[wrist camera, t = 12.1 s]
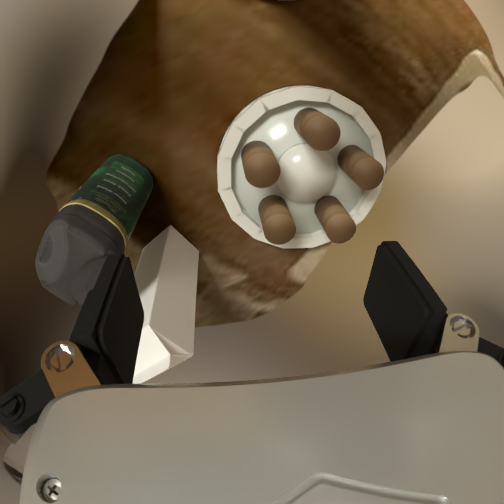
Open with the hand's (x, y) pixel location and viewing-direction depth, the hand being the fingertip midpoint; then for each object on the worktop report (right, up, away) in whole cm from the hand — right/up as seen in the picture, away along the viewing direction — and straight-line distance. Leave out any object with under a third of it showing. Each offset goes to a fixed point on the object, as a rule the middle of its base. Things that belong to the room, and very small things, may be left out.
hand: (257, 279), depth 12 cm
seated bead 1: (+3, +7, +31) cm, 32 cm away
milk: (-12, +1, +34) cm, 36 cm away
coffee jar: (-18, +10, +28) cm, 34 cm away
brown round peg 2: (+13, +13, +28) cm, 33 cm away
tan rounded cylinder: (+7, +17, +25) cm, 30 cm away
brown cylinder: (0, +13, +26) cm, 29 cm away
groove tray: (+6, +12, +29) cm, 32 cm away
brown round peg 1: (+10, +7, +31) cm, 34 cm away
